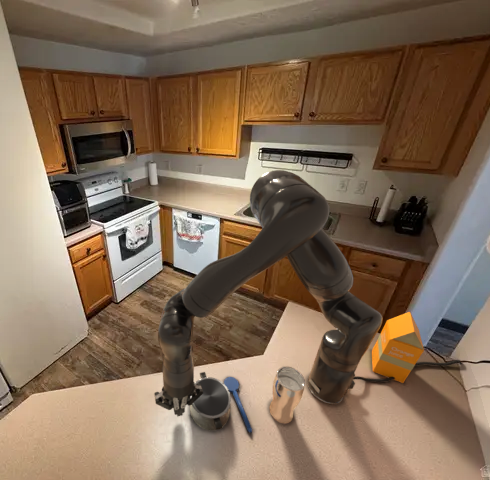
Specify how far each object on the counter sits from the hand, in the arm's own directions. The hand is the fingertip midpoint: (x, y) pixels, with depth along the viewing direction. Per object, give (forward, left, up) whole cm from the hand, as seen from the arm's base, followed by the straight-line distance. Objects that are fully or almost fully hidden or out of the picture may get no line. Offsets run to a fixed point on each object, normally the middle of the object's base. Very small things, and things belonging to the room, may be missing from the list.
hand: (179, 412), depth 70 cm
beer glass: (-28, +5, -2) cm, 28 cm away
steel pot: (-9, 0, -2) cm, 9 cm away
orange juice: (-68, 0, -2) cm, 68 cm away
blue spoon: (-17, 0, -2) cm, 17 cm away
